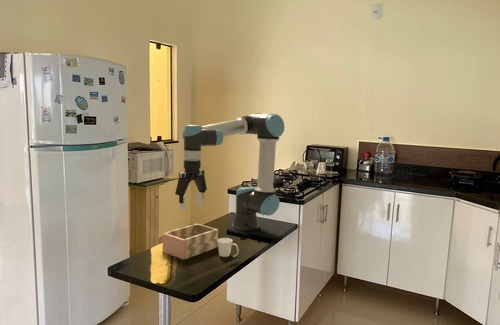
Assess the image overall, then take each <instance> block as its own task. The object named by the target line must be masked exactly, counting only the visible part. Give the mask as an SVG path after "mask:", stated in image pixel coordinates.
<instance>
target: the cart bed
mask: <svg viewBox="0 0 500 325" xmlns="http://www.w3.org/2000/svg"><path fill="white" fill-rule="evenodd" d="M164 233H167V234H170V235H173V236H176V237H179V238H182V239H185V240H186V259H190V258H193V257H196V256H198V255H200V254H203V253H206V252H208V251H211V250H214V249H216V248H217V249H218V239H219V229H218V228H215V227H211V226H207V225H204V224H200V223H194V224H191V225H187V226H183V227H179V228H177V229H173V230H169V231H166V232H164ZM186 259H185V260H186Z"/></svg>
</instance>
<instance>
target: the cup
mask: <svg viewBox="0 0 500 325" xmlns="http://www.w3.org/2000/svg"><path fill="white" fill-rule="evenodd" d="M232 246H235V248H236V252H237V253H236V254H234V255H233V258H235V257H236V256H237V255H238V254H239V245H237V243H233V239H232V238H229V237H221V238H218V247H217V249H218V254H219V257H223V258H227V257H229V256H230V254H231V251H232Z"/></svg>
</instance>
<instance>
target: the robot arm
mask: <svg viewBox="0 0 500 325" xmlns="http://www.w3.org/2000/svg"><path fill="white" fill-rule="evenodd" d="M284 131H285V122H284V119H283V118H282V116H281V115H279V114H277V113H272V112H271V113H262V112H256V113H251V114H247V115H242V116H239V117H237V118H236V119H233V120H227V121H222V122H217V123H213V124H206V125H202V126H201V125H199V124H185V125H184V129H183V131H182V139H183V140H184V141H183V169H184V171H183V172H178V179H177V185H176V189H175V196H178V203H179V211H183V212H185V211H186V196H185V194H186V192H187V189H188V188H189V185H190V183H191V182H192V181H193V182H194V184H195V186H196V188H197V192H196V193H197V194H196V196H197V197H196V199H197V200H196V205H197V207H199V208H200V207H203V204H204V203H203V199H204V193H206V191H207V190H208V187H207V183H206V177H205V170H204V169H203V170H202V169H201V164H202V163H201V158H202V156H201V155H202V147H208V146H209V147H212V146H214V147H216V146H221V145H222V143H223V141H224V138H225V137H229V136H234V135H239V134H240V135H247V134H248V135H257V136H256V137H257V138H256V139H257V140H258V141H259V151H258V167H257V168H258V169H257V184H256V186H243V187H238V188H237V190H236V194H235V214H234V217H233V221H232V225H231V226H232V229H234V230H238V231H244V232H245V231H247V232H248V231H255V230H258V229H259V226H260V222H259V220H258V215H257V214H259V215H263V216H268V217H269V216H273V215H274V214H275V213H277V211H278V209H279V207H280V198H279V196H278V195H276V191H277V190H276V189H275V188H274V179H275V178H274V177H275V162H276V161H275V160H276V150H277V149H276V148H277V147H276V146H277V142H278V141H279V140H280V137H281V136H282V135H284V134H283V133H285V132H284Z"/></svg>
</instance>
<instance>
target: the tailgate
mask: <svg viewBox="0 0 500 325" xmlns="http://www.w3.org/2000/svg"><path fill="white" fill-rule="evenodd" d="M162 253H165V254H167V255H169V256H172V257H175V258H178V259H181V260H183V261H184V260H186V240H185V239H182V238H179V237H176V236H173V235H170V234H167V233H165V232H164V233H162Z"/></svg>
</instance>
